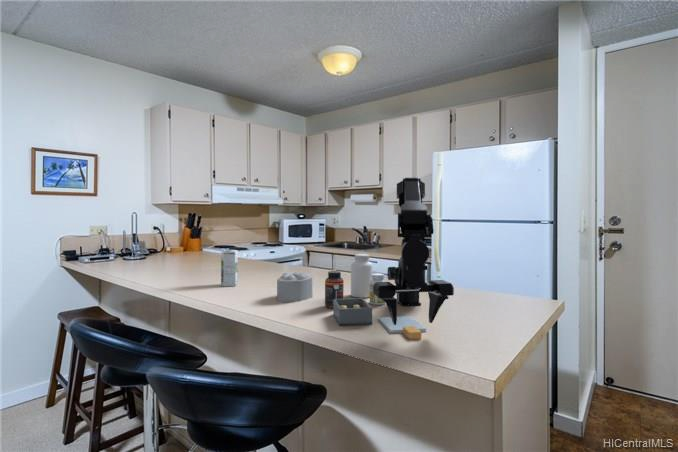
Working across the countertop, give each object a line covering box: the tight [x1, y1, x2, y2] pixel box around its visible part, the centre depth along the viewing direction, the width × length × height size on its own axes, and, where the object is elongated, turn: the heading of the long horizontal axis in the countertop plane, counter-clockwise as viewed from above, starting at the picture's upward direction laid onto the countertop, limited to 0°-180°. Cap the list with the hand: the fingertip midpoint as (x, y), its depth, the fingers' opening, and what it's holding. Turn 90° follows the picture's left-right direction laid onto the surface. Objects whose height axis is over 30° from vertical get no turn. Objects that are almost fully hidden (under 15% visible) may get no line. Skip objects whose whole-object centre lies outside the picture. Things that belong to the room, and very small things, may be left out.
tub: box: [332, 297, 373, 327], centre depth 101 cm, size 9×11×4 cm
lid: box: [378, 315, 427, 340], centre depth 93 cm, size 9×16×2 cm, turn 9°
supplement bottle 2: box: [369, 272, 386, 306], centre depth 119 cm, size 5×5×10 cm
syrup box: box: [220, 249, 239, 287], centre depth 147 cm, size 6×6×14 cm
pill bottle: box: [350, 253, 374, 299], centre depth 129 cm, size 8×8×15 cm
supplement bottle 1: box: [324, 270, 344, 309], centre depth 114 cm, size 6×6×11 cm
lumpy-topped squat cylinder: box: [276, 271, 314, 303], centre depth 126 cm, size 10×13×9 cm
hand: (412, 323), depth 87 cm, fingers open, 9 cm apart
